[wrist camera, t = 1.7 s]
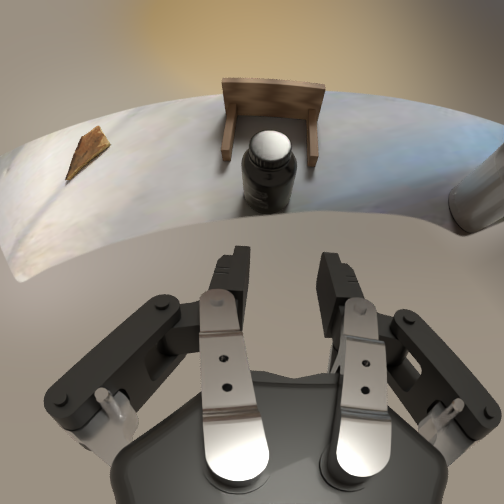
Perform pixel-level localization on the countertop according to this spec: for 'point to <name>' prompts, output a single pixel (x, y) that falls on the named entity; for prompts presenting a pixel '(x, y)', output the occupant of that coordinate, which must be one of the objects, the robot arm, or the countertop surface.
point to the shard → (87, 150)
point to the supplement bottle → (268, 172)
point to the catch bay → (272, 106)
